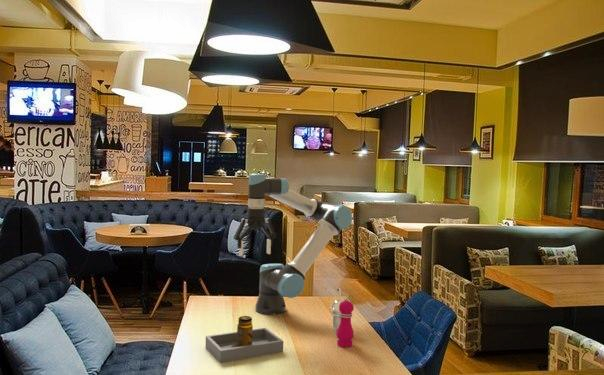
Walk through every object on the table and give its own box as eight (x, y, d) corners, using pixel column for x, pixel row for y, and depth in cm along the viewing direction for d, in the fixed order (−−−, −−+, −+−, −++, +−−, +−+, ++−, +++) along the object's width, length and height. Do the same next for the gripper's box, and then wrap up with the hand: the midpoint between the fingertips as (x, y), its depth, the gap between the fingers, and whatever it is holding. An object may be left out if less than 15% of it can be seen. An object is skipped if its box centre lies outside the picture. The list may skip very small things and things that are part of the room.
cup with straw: (351, 330, 233) (353, 286, 232) (340, 335, 226) (341, 290, 225) (336, 325, 239) (338, 282, 238) (324, 330, 232) (326, 286, 231)
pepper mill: (357, 345, 216) (359, 297, 214) (346, 349, 210) (348, 300, 209) (343, 340, 220) (345, 293, 219) (332, 344, 215) (334, 297, 214)
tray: (265, 338, 220) (265, 327, 220) (283, 352, 205) (283, 341, 205) (205, 347, 207) (205, 336, 207) (220, 362, 192) (220, 350, 192)
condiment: (256, 348, 205) (257, 318, 204) (236, 352, 200) (237, 322, 200) (247, 342, 211) (248, 313, 210) (228, 346, 206) (229, 316, 206)
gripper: (233, 209, 226) (232, 257, 227) (284, 208, 238) (283, 254, 239) (227, 207, 233) (225, 254, 234) (277, 206, 245) (276, 251, 246)
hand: (254, 254), depth 237 cm, fingers open, 13 cm apart
